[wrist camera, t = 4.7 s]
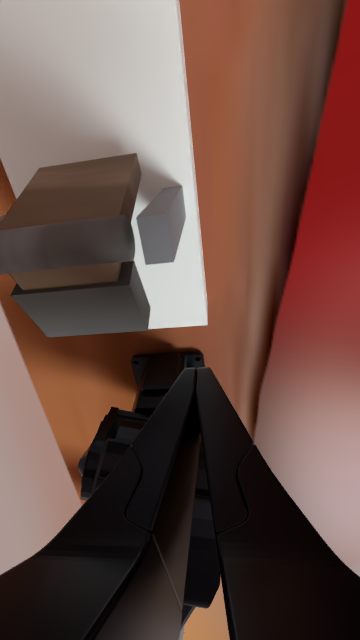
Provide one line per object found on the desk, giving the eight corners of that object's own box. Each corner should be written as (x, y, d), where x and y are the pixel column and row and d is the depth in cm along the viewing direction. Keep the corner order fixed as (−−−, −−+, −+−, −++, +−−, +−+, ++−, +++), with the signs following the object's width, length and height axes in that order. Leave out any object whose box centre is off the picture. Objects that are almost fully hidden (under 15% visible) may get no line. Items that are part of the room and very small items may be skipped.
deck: (207, 301, 23) (208, 407, 13) (87, 310, 24) (13, 413, 15) (178, -10, 14) (126, -304, 5) (-8, 33, 15) (-328, -135, 6)
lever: (163, 239, 17) (154, 330, 13) (76, 249, 18) (42, 338, 14) (140, 145, 13) (117, 232, 9) (30, 162, 14) (-39, 251, 10)
